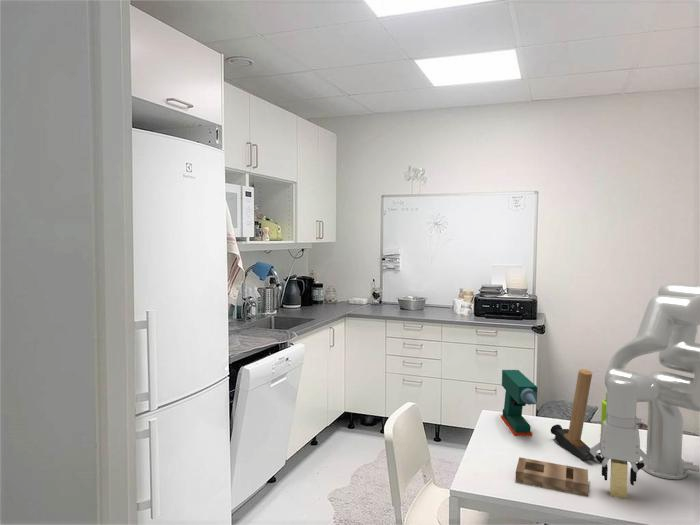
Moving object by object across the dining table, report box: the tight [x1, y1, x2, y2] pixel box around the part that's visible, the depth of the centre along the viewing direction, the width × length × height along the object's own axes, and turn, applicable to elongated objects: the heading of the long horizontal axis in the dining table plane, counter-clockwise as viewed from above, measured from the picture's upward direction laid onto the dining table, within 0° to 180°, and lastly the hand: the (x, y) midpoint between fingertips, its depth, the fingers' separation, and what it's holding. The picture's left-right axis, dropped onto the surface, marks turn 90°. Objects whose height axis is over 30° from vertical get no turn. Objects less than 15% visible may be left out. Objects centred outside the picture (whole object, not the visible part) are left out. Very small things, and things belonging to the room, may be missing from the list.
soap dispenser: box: [600, 391, 607, 430], centre depth 186 cm, size 6×7×20 cm
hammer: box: [550, 368, 602, 461], centre depth 172 cm, size 20×5×30 cm, turn 14°
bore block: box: [515, 456, 589, 497], centre depth 154 cm, size 20×10×4 cm, turn 66°
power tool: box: [500, 369, 538, 437], centre depth 189 cm, size 32×7×20 cm, turn 179°
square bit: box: [609, 459, 629, 500], centre depth 146 cm, size 4×4×10 cm
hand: (618, 480), depth 146 cm, fingers open, 6 cm apart
